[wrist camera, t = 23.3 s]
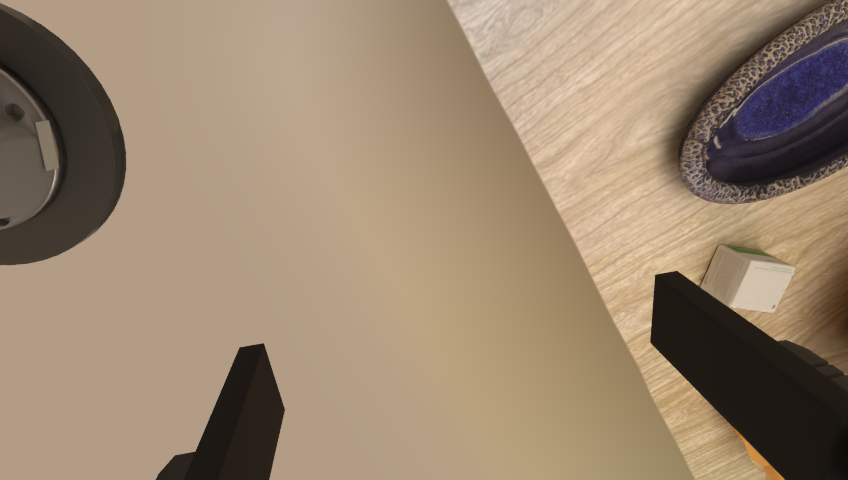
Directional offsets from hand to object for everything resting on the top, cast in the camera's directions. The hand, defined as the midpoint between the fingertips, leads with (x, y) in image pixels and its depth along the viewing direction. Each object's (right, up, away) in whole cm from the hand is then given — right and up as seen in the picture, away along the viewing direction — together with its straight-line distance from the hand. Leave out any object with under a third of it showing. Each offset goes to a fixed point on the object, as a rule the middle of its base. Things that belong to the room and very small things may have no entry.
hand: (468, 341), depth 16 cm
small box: (+33, 0, +37) cm, 50 cm away
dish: (+36, +18, +31) cm, 51 cm away
